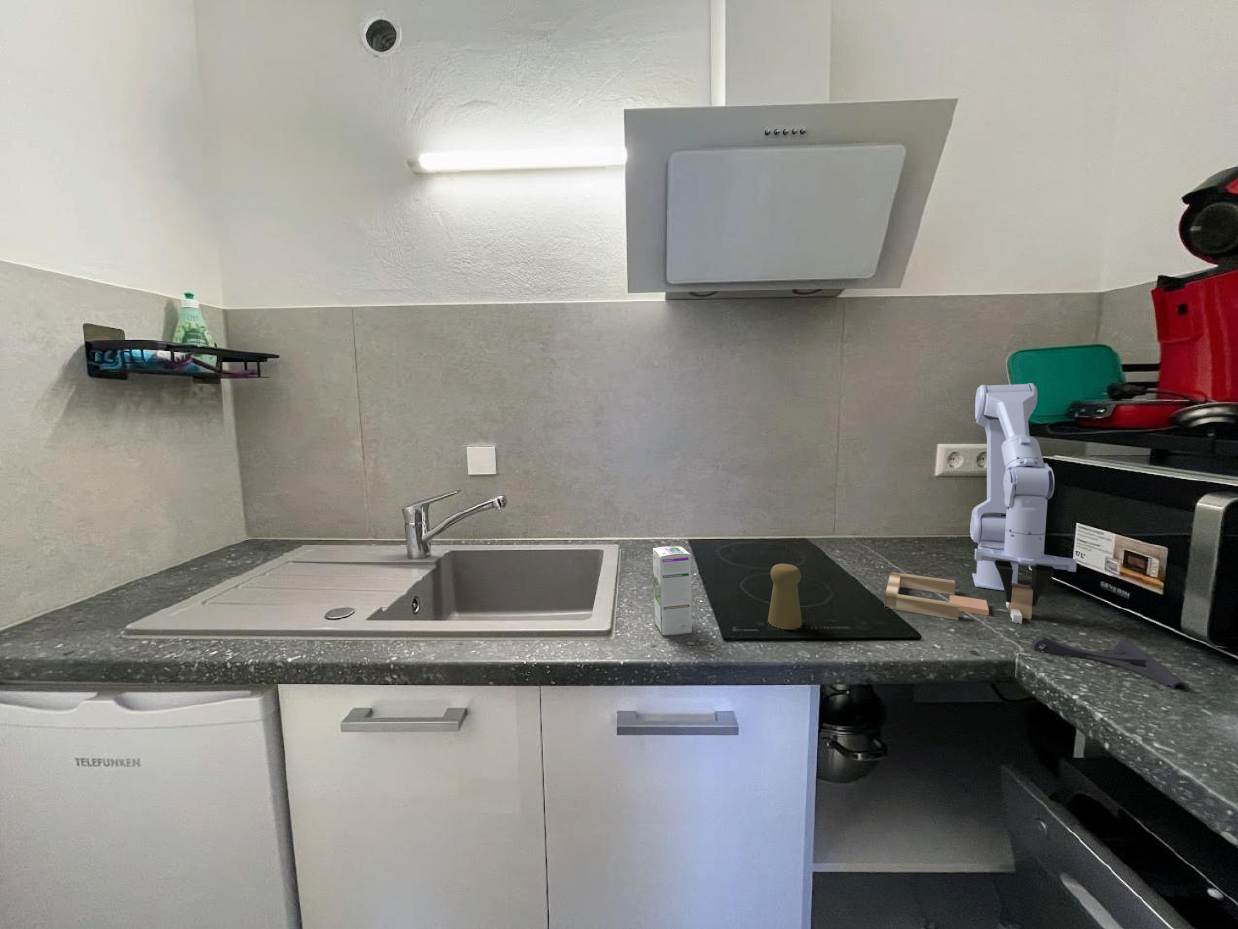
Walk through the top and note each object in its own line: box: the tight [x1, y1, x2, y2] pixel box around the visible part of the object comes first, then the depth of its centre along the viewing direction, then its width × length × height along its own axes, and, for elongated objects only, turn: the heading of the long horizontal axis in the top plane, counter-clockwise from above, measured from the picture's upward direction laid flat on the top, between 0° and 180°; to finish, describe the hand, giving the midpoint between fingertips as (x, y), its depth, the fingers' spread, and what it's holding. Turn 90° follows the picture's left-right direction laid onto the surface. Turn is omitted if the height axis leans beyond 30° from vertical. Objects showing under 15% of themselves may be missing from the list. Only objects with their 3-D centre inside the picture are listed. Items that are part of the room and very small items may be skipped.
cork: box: [767, 563, 803, 629], centre depth 90 cm, size 6×6×11 cm
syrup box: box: [652, 545, 693, 636], centre depth 89 cm, size 6×6×14 cm
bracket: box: [1031, 636, 1190, 692], centre depth 76 cm, size 14×15×3 cm
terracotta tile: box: [949, 594, 990, 616], centre depth 97 cm, size 6×6×2 cm
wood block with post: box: [1005, 583, 1033, 625], centre depth 93 cm, size 10×3×6 cm, turn 148°
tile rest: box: [884, 571, 960, 621], centre depth 101 cm, size 17×12×2 cm
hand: (1020, 602), depth 93 cm, fingers closed on wood block with post, 3 cm apart
